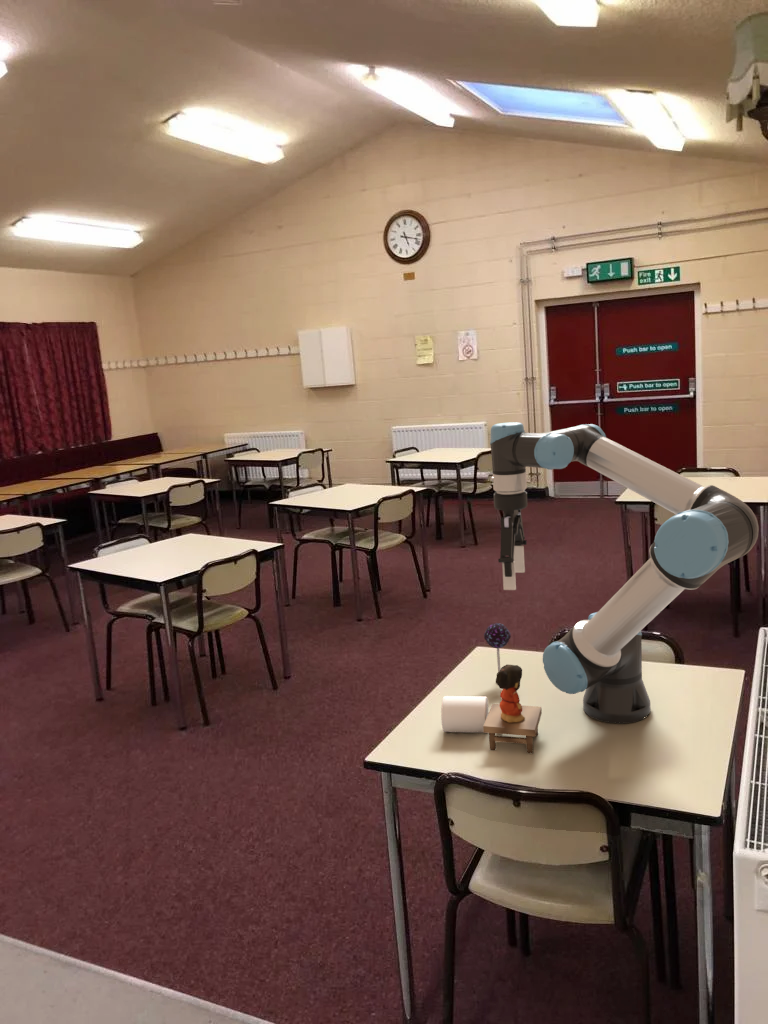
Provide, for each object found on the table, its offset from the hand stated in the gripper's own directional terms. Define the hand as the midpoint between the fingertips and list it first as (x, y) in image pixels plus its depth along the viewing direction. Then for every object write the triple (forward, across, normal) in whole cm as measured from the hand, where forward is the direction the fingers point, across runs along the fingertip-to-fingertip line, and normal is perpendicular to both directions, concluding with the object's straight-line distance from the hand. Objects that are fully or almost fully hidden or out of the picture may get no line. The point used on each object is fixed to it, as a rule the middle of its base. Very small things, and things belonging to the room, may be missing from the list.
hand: (514, 580), depth 184 cm
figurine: (+26, +18, +1) cm, 31 cm away
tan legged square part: (+32, +17, +1) cm, 36 cm away
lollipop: (+32, -16, -8) cm, 37 cm away
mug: (+32, +11, -11) cm, 36 cm away
